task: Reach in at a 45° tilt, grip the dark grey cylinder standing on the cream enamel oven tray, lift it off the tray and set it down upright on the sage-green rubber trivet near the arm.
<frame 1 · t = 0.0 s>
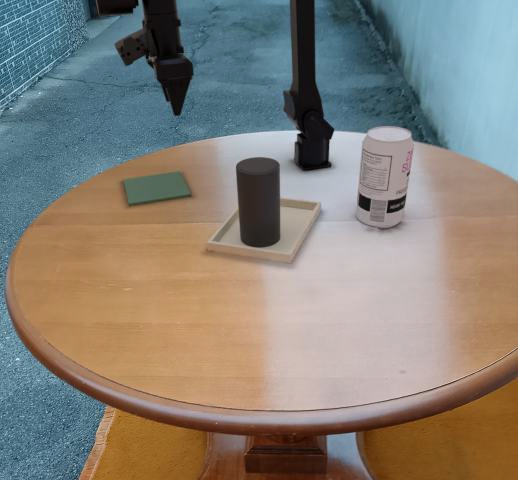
hand: (173, 108, 101), 15 cm above the table, tool pointing down, fingers open, 9 cm apart
supplement can: (378, 220, 95), on the table
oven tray: (267, 231, 93), on the table
trivet: (156, 189, 108), on the table
dark grey cylinder: (260, 237, 91), resting on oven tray
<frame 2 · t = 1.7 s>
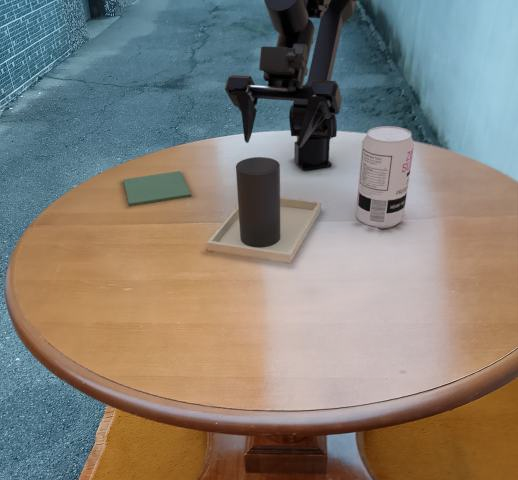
hand: (272, 144, 88), 13 cm above the table, tool tilted 45°, fingers open, 9 cm apart
nothing on the table moved.
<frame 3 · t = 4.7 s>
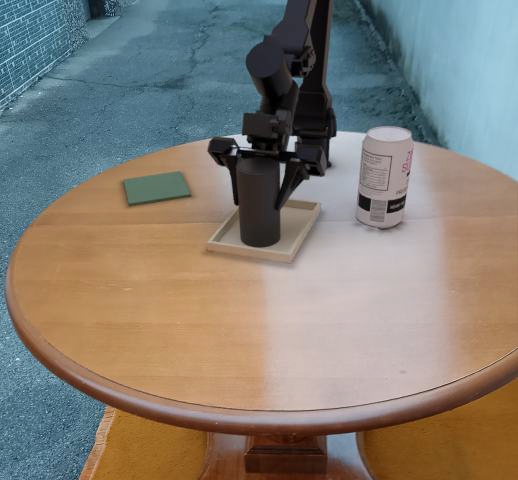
hand: (256, 207, 86), 7 cm above the table, tool tilted 45°, fingers closed on dark grey cylinder, 7 cm apart
dark grey cylinder: (260, 237, 91), point 1 cm above the table, touching gripper, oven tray
everything else where it was.
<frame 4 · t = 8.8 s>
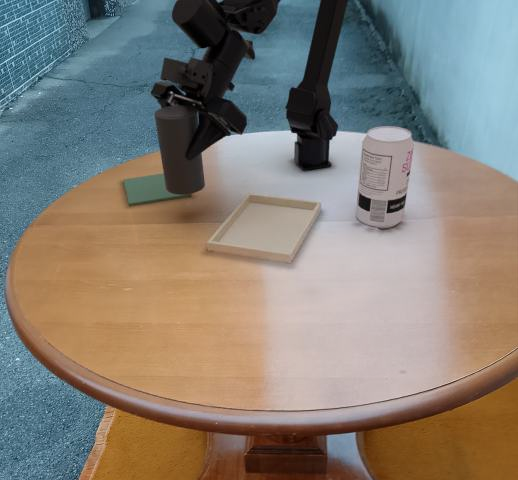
hand: (174, 153, 89), 12 cm above the table, tool tilted 45°, fingers closed on dark grey cylinder, 7 cm apart
dark grey cylinder: (185, 186, 94), point 6 cm above the table, touching gripper
everything else where it was.
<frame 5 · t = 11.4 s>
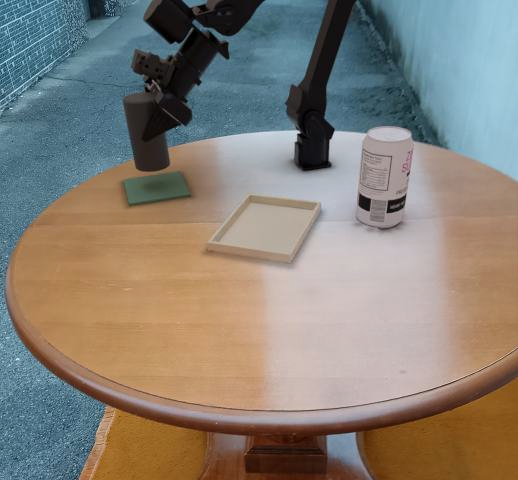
hand: (140, 134, 101), 11 cm above the table, tool tilted 45°, fingers closed on dark grey cylinder, 7 cm apart
dark grey cylinder: (152, 165, 105), point 5 cm above the table, touching gripper
everything else where it was.
when the fingers open (7 cm above the table, at t = 13.2 s): dark grey cylinder stays where it is, resting on trivet.
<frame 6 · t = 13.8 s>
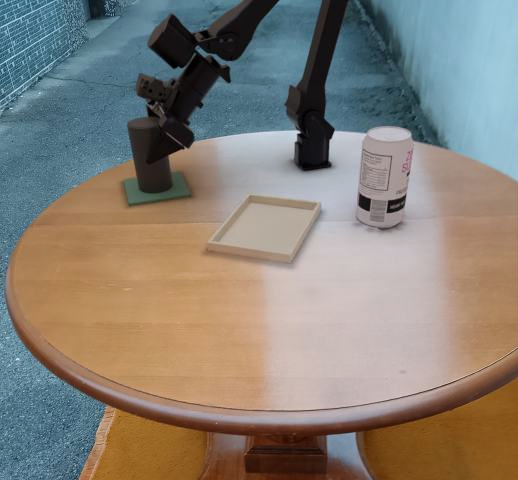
hand: (143, 154, 103), 7 cm above the table, tool tilted 45°, fingers open, 9 cm apart
dark grey cylinder: (155, 186, 108), point 1 cm above the table, touching trivet
everything else where it was.
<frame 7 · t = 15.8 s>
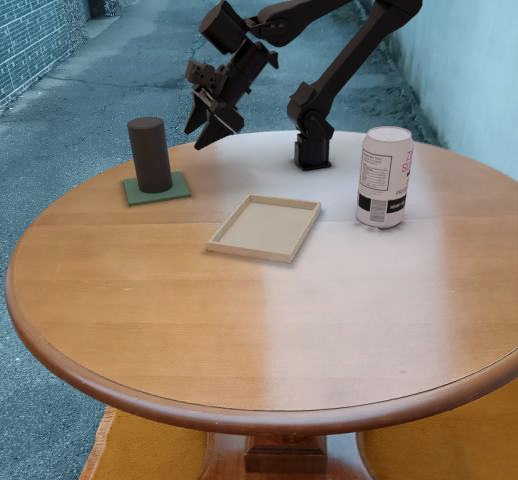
hand: (190, 140, 105), 8 cm above the table, tool tilted 45°, fingers open, 9 cm apart
nothing on the table moved.
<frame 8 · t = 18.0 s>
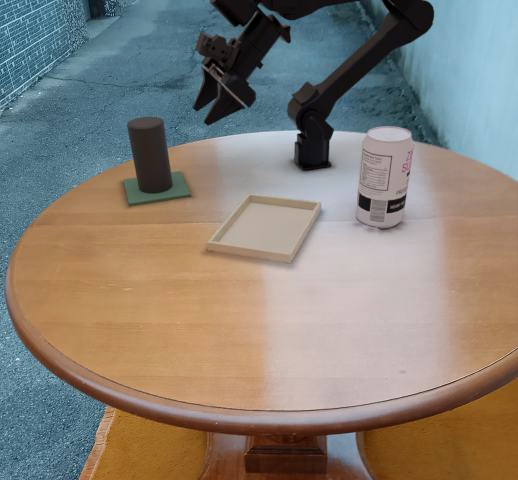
hand: (200, 116, 103), 13 cm above the table, tool tilted 45°, fingers open, 9 cm apart
nothing on the table moved.
at the end: dark grey cylinder inside the target area on the trivet (0.0 cm from its centre), point 0.6 cm above the trivet's base; dark grey cylinder tilted 0°; dark grey cylinder touching trivet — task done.
